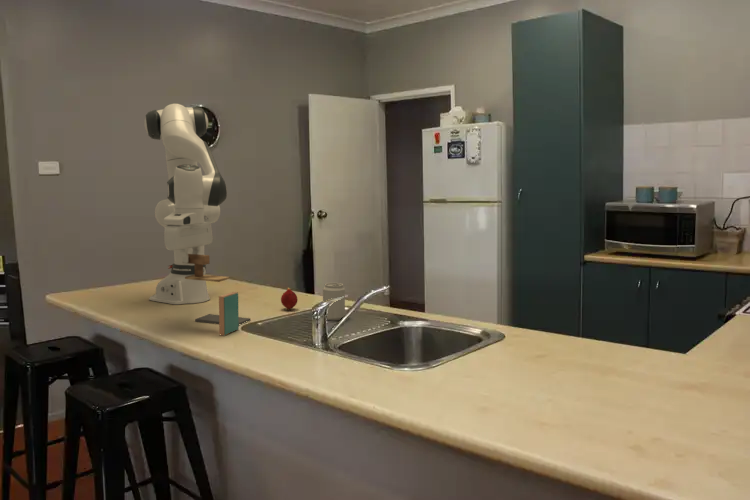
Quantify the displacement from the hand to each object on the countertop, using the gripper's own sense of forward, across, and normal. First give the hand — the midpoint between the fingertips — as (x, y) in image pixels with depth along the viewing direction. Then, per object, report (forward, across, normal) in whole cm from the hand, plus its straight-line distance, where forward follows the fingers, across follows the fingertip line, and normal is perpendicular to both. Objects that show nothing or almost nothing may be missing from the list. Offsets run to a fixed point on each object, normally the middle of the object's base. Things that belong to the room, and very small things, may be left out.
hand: (190, 261), depth 201 cm
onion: (+21, -35, +16) cm, 44 cm away
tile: (+21, +1, +14) cm, 25 cm away
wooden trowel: (+5, 0, +5) cm, 7 cm away
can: (+21, -29, +36) cm, 51 cm away
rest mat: (+21, -11, +4) cm, 24 cm away
